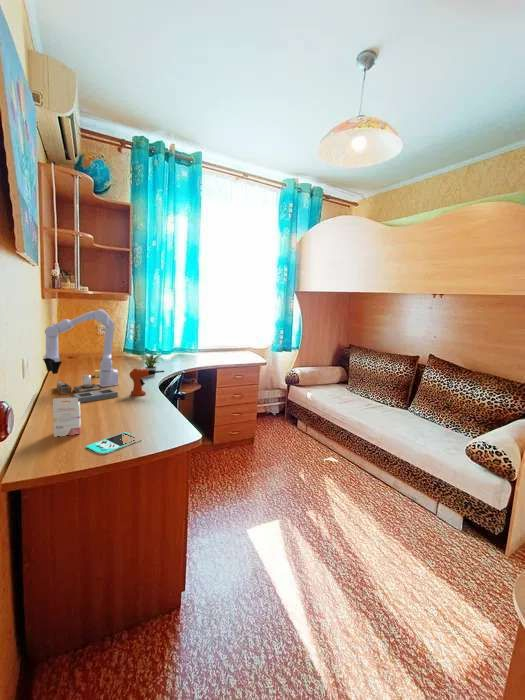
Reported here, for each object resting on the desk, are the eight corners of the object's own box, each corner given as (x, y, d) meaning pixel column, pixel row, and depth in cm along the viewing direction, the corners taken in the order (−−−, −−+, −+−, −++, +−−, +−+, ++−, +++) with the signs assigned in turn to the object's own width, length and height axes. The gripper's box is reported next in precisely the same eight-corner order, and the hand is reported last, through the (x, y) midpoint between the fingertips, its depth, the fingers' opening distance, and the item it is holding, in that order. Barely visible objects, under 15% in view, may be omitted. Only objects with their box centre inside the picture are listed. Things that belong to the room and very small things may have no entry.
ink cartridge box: (81, 429, 125) (80, 393, 123) (79, 434, 121) (79, 397, 118) (55, 432, 122) (54, 395, 119) (53, 437, 117) (51, 399, 115)
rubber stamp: (111, 374, 211) (111, 357, 209) (111, 376, 206) (111, 358, 204) (94, 375, 206) (94, 357, 205) (94, 377, 201) (94, 359, 200)
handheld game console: (85, 448, 111) (85, 445, 111) (125, 434, 125) (125, 431, 125) (102, 457, 106) (101, 453, 106) (142, 441, 120) (142, 438, 119)
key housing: (65, 389, 174) (65, 382, 174) (71, 393, 168) (71, 386, 167) (56, 390, 171) (56, 383, 171) (62, 394, 165) (61, 388, 164)
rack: (111, 392, 173) (111, 388, 172) (117, 396, 167) (117, 392, 167) (73, 398, 160) (73, 394, 159) (79, 403, 154) (78, 398, 154)
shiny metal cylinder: (90, 390, 175) (89, 374, 174) (92, 392, 172) (92, 375, 171) (82, 391, 172) (81, 375, 171) (84, 393, 169) (84, 376, 168)
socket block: (94, 388, 179) (94, 383, 179) (100, 392, 172) (100, 388, 172) (73, 390, 172) (73, 386, 172) (80, 395, 165) (80, 390, 165)
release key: (61, 385, 177) (61, 380, 176) (66, 388, 171) (66, 384, 170) (56, 385, 175) (56, 381, 174) (61, 389, 169) (60, 385, 169)
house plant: (165, 378, 211) (166, 354, 208) (144, 380, 203) (144, 354, 200) (159, 373, 222) (159, 350, 220) (138, 375, 215) (138, 351, 212)
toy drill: (166, 393, 173) (163, 366, 170) (130, 397, 170) (126, 370, 168) (167, 391, 178) (164, 365, 175) (132, 394, 175) (128, 368, 172)
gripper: (38, 346, 173) (39, 370, 175) (48, 350, 165) (49, 375, 167) (53, 345, 179) (53, 369, 181) (63, 349, 170) (63, 374, 172)
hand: (52, 372), depth 174 cm, fingers open, 7 cm apart
